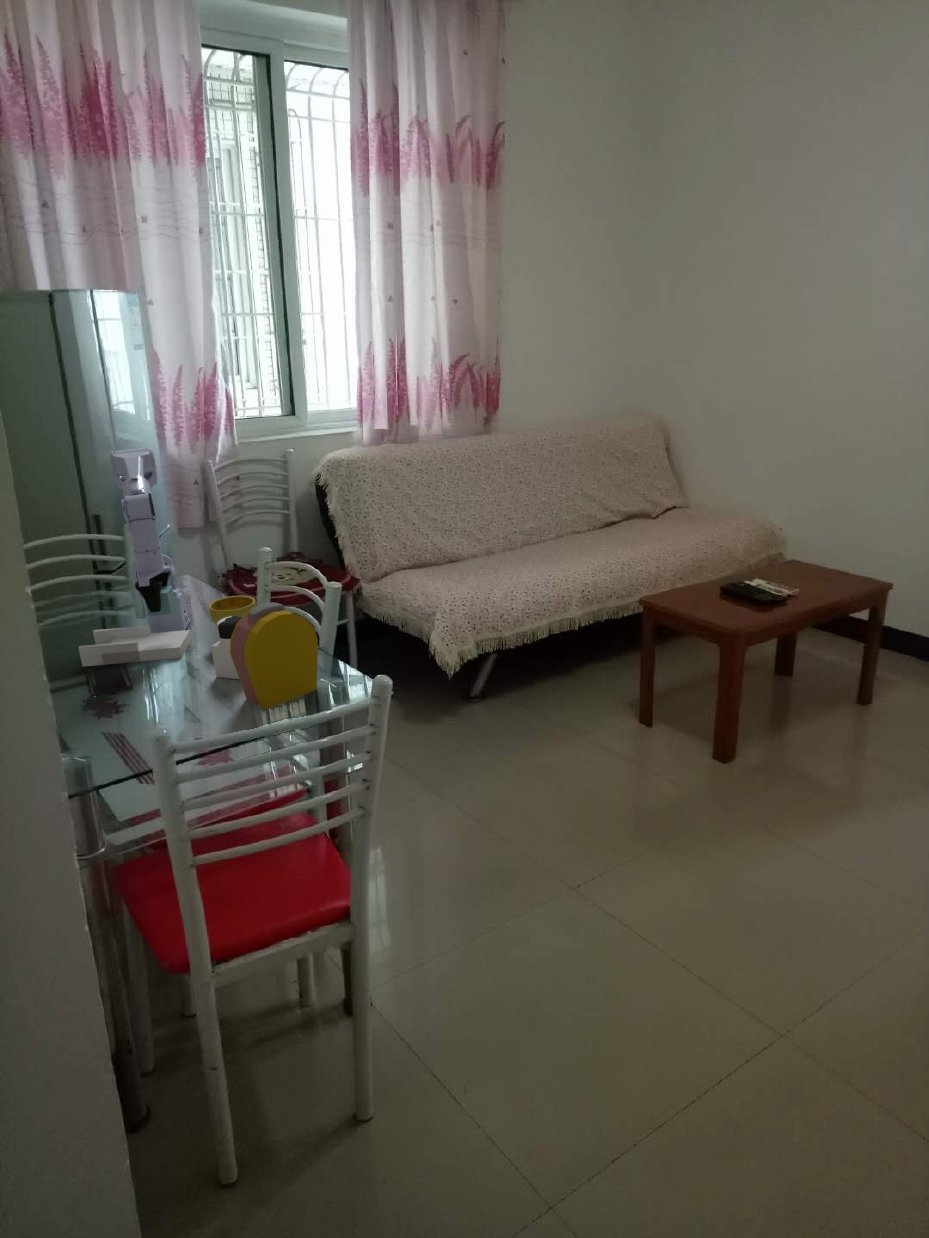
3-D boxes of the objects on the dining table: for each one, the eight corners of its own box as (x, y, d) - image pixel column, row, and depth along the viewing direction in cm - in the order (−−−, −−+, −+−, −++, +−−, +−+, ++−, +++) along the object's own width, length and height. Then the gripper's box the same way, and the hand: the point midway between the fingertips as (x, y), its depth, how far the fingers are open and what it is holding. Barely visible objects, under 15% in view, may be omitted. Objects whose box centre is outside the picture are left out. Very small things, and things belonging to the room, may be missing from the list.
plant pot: (263, 646, 192) (257, 605, 188) (216, 654, 189) (209, 613, 185) (259, 631, 201) (253, 592, 197) (214, 638, 198) (207, 599, 195)
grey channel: (191, 639, 198) (188, 621, 197) (181, 657, 188) (178, 638, 186) (98, 648, 197) (94, 630, 195) (82, 666, 186) (78, 647, 185)
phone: (124, 662, 185) (132, 686, 173) (125, 667, 186) (133, 691, 173) (86, 670, 182) (91, 695, 169) (87, 675, 182) (92, 700, 170)
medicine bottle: (263, 666, 180) (255, 614, 176) (244, 680, 174) (235, 626, 170) (234, 664, 182) (226, 612, 178) (215, 677, 176) (206, 624, 172)
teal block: (176, 606, 192) (172, 586, 190) (171, 614, 187) (167, 592, 186) (153, 608, 192) (149, 587, 190) (148, 616, 187) (144, 594, 185)
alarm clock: (301, 676, 174) (289, 592, 168) (323, 686, 169) (312, 600, 162) (236, 700, 165) (221, 612, 159) (258, 712, 159) (243, 621, 153)
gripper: (157, 556, 178) (169, 616, 183) (173, 539, 192) (183, 595, 196) (123, 559, 177) (135, 619, 182) (141, 541, 191) (152, 598, 196)
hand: (158, 607), depth 189 cm, fingers closed on teal block, 5 cm apart
